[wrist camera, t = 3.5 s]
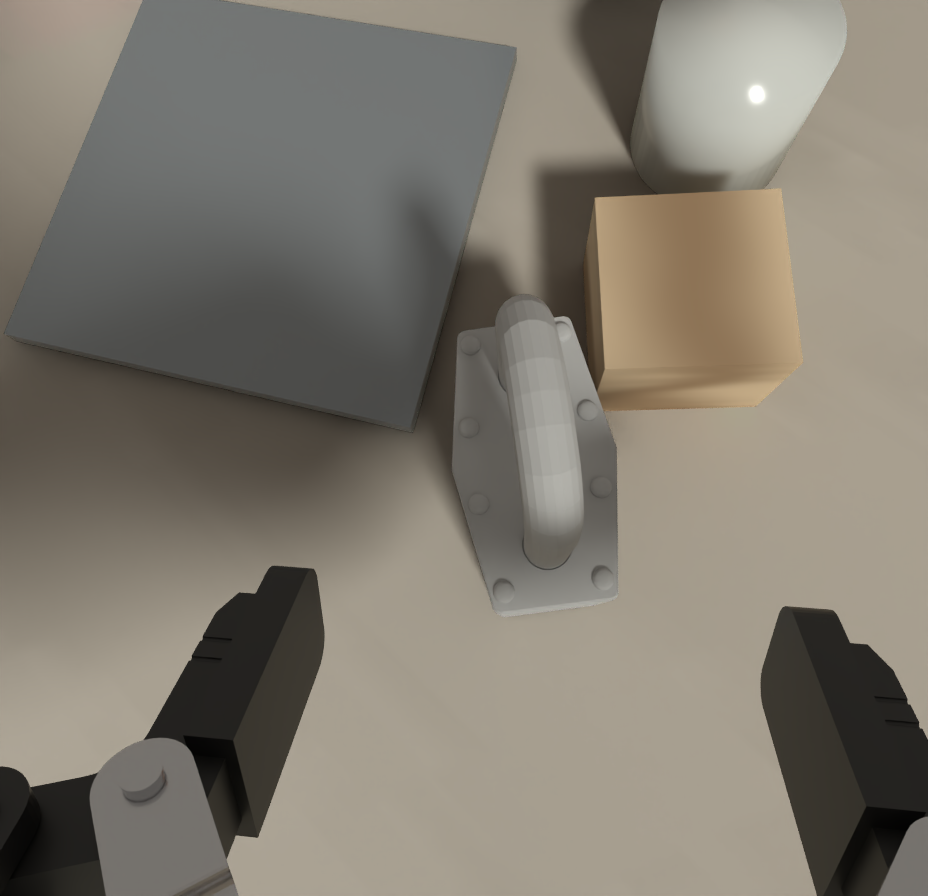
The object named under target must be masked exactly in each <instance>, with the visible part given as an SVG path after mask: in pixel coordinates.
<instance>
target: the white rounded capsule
mask: <svg viewBox="0 0 928 896" xmlns="http://www.w3.org/2000/svg"><path fill="white" fill-rule="evenodd" d="M846 37H847V23H846V17H845V13H844V9H843V7H842V4H841V2H840V0H663V1H662V4H661V7H660V10H659V13H658V18H657V22H656V26H655V31H654V35H653V40H652V44H651V48H650V53H649V57H648V62H647V66H646V70H645V75H644V79H643V84H642V88H641V92H640V97H639V101H638V106H637V110H636V114H635V119H634V123H633V128H632V132H631V139H630V149H631V155H632V159H633V162H634V165H635V167H636V169H637V171H638V173H639V175H640V176H641V178H642V179H643V181H644V182H645V183H646V184H647V185H648V186H649V187H650V188H651V189H652V190H653V191H654V192H655V193H657V194H679V193H699V192H720V191H740V190H760V189H764V188H765V187H766V186H767V185H768V184H769V182H770V181H771V180H772V178H773V177H774V175H775V173H776V172H777V170H778V168H779V166H780V165H781V163H782V161H783V159H784V158H785V156H786V154H787V152H788V150H789V149H790V147H791V145H792V143H793V142H794V140H795V138H796V136H797V135H798V133H799V131H800V129H801V127H802V126H803V124H804V122H805V120H806V119H807V117H808V115H809V113H810V112H811V110H812V108H813V106H814V105H815V103H816V101H817V99H818V97H819V96H820V94H821V92H822V90H823V89H824V87H825V85H826V83H827V82H828V80H829V78H830V76H831V74H832V73H833V71H834V69H835V67H836V66H837V64H838V62H839V60H840V58H841V56H842V53H843V51H844V47H845V43H846Z"/></svg>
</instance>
